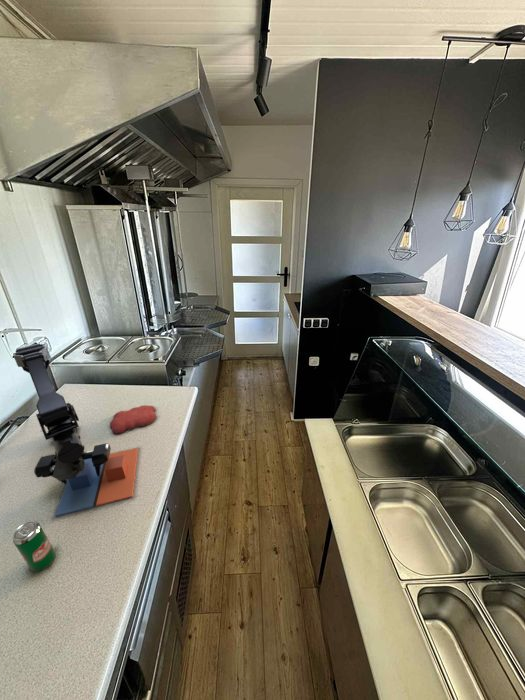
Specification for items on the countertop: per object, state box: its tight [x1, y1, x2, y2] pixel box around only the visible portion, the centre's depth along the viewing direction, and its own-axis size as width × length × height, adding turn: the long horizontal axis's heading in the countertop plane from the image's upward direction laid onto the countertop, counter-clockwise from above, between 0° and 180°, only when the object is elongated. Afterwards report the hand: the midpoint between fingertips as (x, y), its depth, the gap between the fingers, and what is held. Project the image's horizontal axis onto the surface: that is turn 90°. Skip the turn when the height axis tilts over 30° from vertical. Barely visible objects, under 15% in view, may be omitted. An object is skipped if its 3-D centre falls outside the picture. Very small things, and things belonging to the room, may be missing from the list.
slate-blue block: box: [67, 462, 94, 490], centre depth 88 cm, size 5×5×5 cm
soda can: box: [12, 520, 56, 572], centre depth 67 cm, size 5×5×12 cm
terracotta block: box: [105, 455, 127, 482], centre depth 91 cm, size 5×5×5 cm
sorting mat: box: [54, 447, 139, 517], centre depth 91 cm, size 20×20×1 cm
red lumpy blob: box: [109, 405, 157, 435], centre depth 116 cm, size 18×14×2 cm
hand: (82, 478), depth 89 cm, fingers open, 9 cm apart
